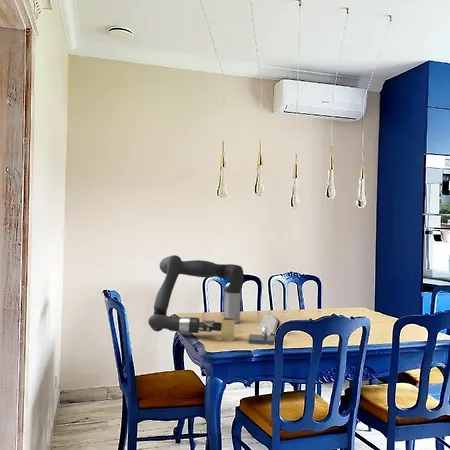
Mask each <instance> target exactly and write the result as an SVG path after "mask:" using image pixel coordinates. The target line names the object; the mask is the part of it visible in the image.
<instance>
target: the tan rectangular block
mask: <svg viewBox="0 0 450 450" xmlns="http://www.w3.org/2000/svg"><path fill="white" fill-rule="evenodd" d="M221 323H222V326H221V331H220V334H221V335H220V341H223V342H234V340H235V324H236V323H235V318H224V316H223V317H222V318H221Z"/></svg>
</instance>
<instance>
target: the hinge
mask: <svg viewBox="0 0 450 450" xmlns="http://www.w3.org/2000/svg"><path fill="white" fill-rule="evenodd" d="M282 323H283V322H282V321H281V320H280V319H279V318H278V317H277V316H274V315H271V314H265V315H263V318H262V321H261V323H260V324H259V325H257V328H256V330H258V331H259V330H260V331H259V332H261V331H262V327H268V330H267V334H268V335H275V332H276V330H277V328H278V327H279V326H280V325H281V326H282Z"/></svg>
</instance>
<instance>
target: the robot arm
mask: <svg viewBox="0 0 450 450" xmlns="http://www.w3.org/2000/svg"><path fill="white" fill-rule="evenodd" d="M159 270H160V271H161V272H162V273H163V274H165V278H164V280H163V283H162V284H161V286H160V287H159V289H158V292H157V293H156V297H155V299H154V305H153V310H154V311H153V314H152V315H150V317H149V318H148V325H149V327H150V328H151V330H153V331H155V332H161V331H162V330H163V329H165V330H168V331H171V332H181V333H187V334H188V333H191V334H199V333H200V332H206V333H207V332H208V333H211V332H213V331H215V332H221V326H222V322H217V321H215V320H204V319H203V320H202V321H200V318H199V317H197V316H196V317H193V316H192V317H191V316H171V315H167V312H168V308H169V306H170V305H169V304H170V300H171V297H172V293H173V290H174V287H175V285H176V282H177V281H178V280H177V279H178V277H179V275H185V276H188V277H197V278H203V279H204V278H205V279H207V278H221V279H224V280H228V281H229V285H227V286H225V288H224V303H223V304H224V307H223V317H224V318H235V324H238V323H240V317H241V297H242V296H241V293H242V289H243V283H244V269H243V267H242V266H241V265H239V264H233V263H230V264H229V263H227V264H226V263H225V264H218V263H215V262H212V261H208V260H202V259H201V260H199V259H198V260H197V259H196V260H185V261H184V260H182V259H181V257H180V256H178V255H175V254H174V255H169V256H166V257H164V258H162V260H161V261H160V262H159Z"/></svg>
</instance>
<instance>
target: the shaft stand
mask: <svg viewBox="0 0 450 450" xmlns="http://www.w3.org/2000/svg"><path fill="white" fill-rule="evenodd" d="M267 330H268V327H262V332H261V334H255V333H253V334H252V333H249V336H248V344H249V345H251V344H253V345H265V344H269V345H268V346H275V345H274V342H275V336H276V335H273V334H271V335H267Z"/></svg>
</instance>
